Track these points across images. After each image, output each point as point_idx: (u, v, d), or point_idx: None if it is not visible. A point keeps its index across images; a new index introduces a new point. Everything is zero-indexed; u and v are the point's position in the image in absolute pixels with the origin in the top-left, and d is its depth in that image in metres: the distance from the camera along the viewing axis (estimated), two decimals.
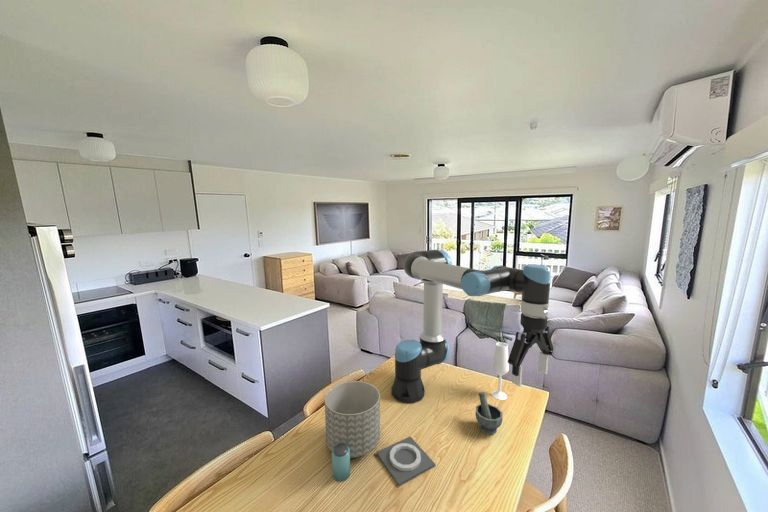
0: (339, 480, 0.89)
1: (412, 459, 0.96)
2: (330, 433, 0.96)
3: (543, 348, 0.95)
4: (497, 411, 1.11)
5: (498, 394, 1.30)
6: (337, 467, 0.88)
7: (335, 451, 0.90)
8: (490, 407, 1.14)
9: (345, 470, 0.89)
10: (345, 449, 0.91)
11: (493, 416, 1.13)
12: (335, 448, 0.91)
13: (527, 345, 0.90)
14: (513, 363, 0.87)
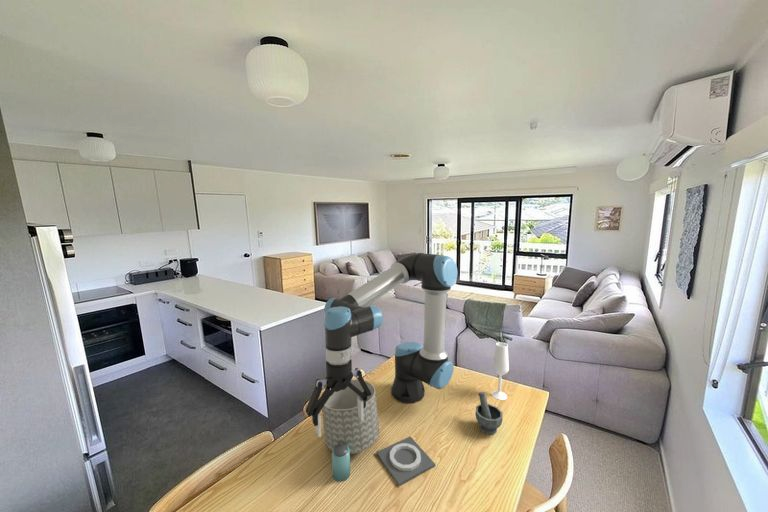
0: (339, 480, 0.89)
1: (412, 459, 0.96)
2: (328, 431, 0.97)
3: (357, 393, 0.91)
4: (497, 411, 1.11)
5: (498, 394, 1.30)
6: (337, 467, 0.88)
7: (335, 451, 0.90)
8: (490, 407, 1.14)
9: (345, 470, 0.89)
10: (345, 449, 0.91)
11: (493, 416, 1.13)
12: (335, 448, 0.91)
13: (327, 393, 0.85)
14: (307, 413, 0.83)
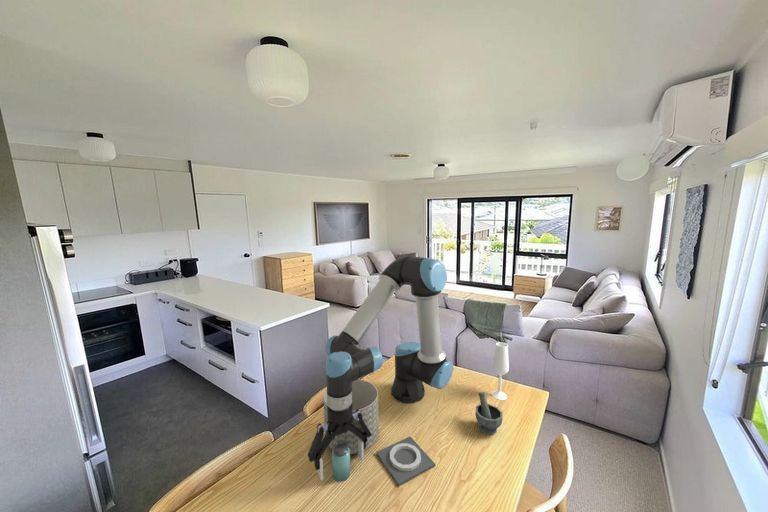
0: (339, 480, 0.89)
1: (412, 459, 0.96)
2: None
3: (357, 435, 0.93)
4: (497, 411, 1.11)
5: (498, 394, 1.30)
6: (337, 467, 0.89)
7: (335, 451, 0.90)
8: (490, 407, 1.14)
9: (345, 470, 0.89)
10: (345, 449, 0.91)
11: (493, 416, 1.13)
12: (335, 448, 0.91)
13: (329, 437, 0.87)
14: (309, 458, 0.85)
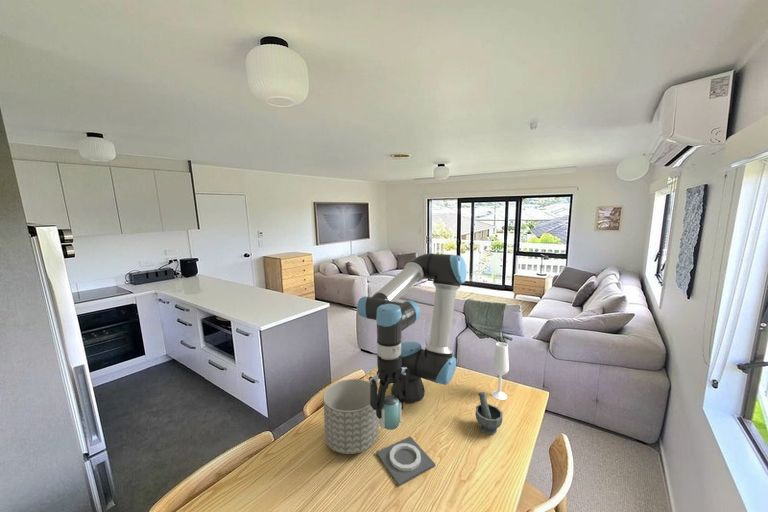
0: (390, 428, 0.91)
1: (412, 459, 0.96)
2: (328, 429, 0.98)
3: (397, 392, 0.93)
4: (497, 411, 1.11)
5: (498, 394, 1.30)
6: (387, 416, 0.91)
7: (385, 400, 0.92)
8: (490, 407, 1.14)
9: (395, 418, 0.91)
10: (394, 399, 0.93)
11: (493, 416, 1.13)
12: (384, 398, 0.93)
13: (383, 387, 0.90)
14: (373, 407, 0.89)
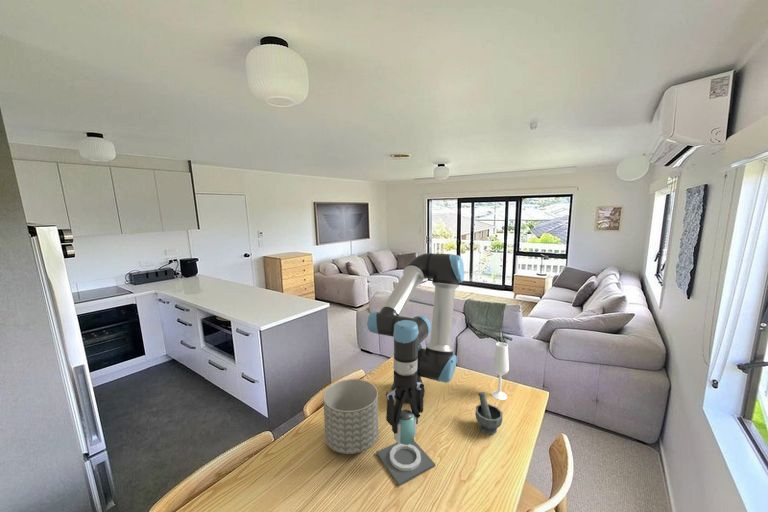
0: (405, 443, 0.93)
1: (412, 459, 0.96)
2: (328, 429, 0.98)
3: (412, 407, 0.95)
4: (497, 411, 1.11)
5: (498, 394, 1.30)
6: (403, 431, 0.92)
7: (401, 415, 0.93)
8: (490, 407, 1.14)
9: (411, 433, 0.93)
10: (409, 414, 0.94)
11: (493, 416, 1.13)
12: None
13: (399, 403, 0.92)
14: (389, 422, 0.91)
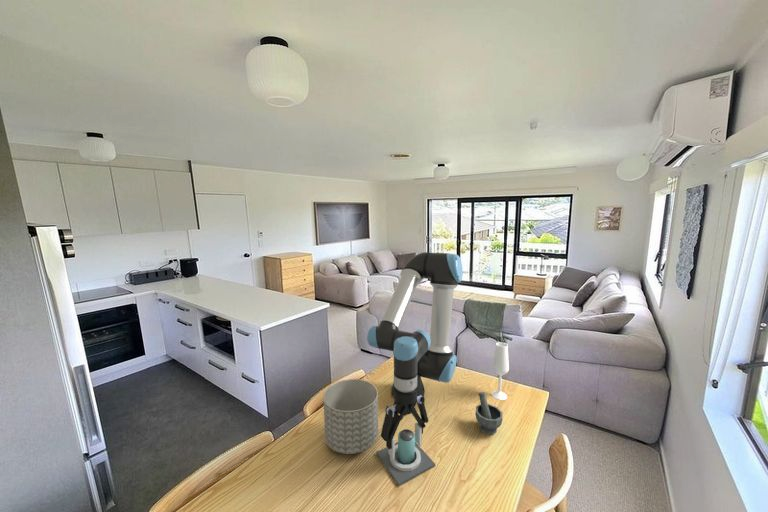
0: (406, 463, 0.94)
1: None
2: (328, 429, 0.98)
3: (417, 419, 0.97)
4: (497, 411, 1.11)
5: (498, 394, 1.30)
6: (404, 451, 0.93)
7: (402, 436, 0.95)
8: (490, 407, 1.14)
9: (412, 454, 0.94)
10: (410, 434, 0.95)
11: (493, 416, 1.13)
12: (401, 433, 0.96)
13: (397, 418, 0.92)
14: (383, 438, 0.90)
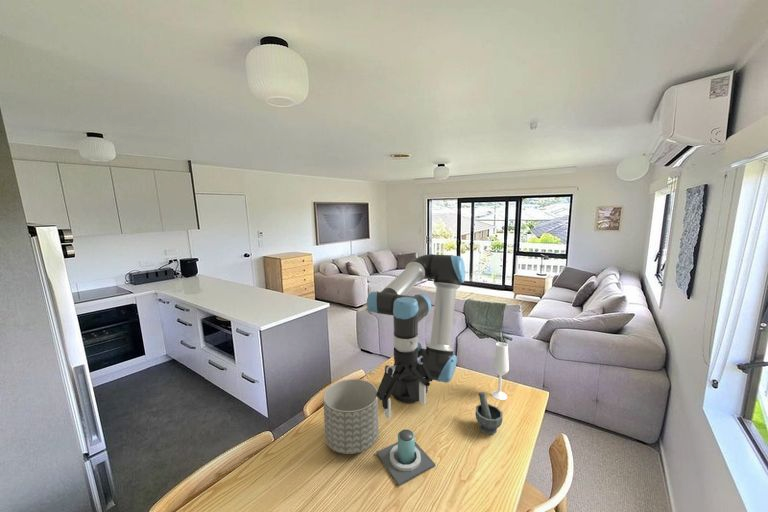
0: (406, 463, 0.94)
1: None
2: (328, 429, 0.98)
3: (420, 379, 0.96)
4: (497, 411, 1.11)
5: (498, 394, 1.30)
6: (404, 451, 0.93)
7: (401, 436, 0.95)
8: (490, 407, 1.14)
9: (411, 454, 0.94)
10: (410, 434, 0.95)
11: (493, 416, 1.13)
12: (401, 433, 0.96)
13: (396, 378, 0.90)
14: (379, 397, 0.88)
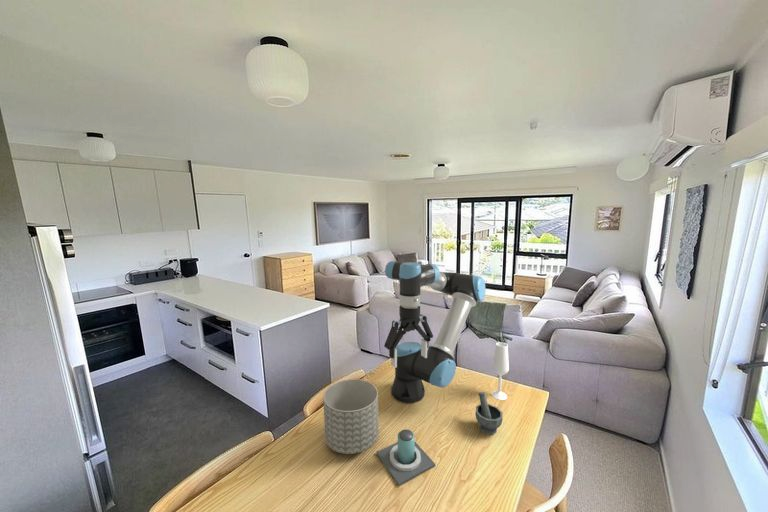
0: (406, 463, 0.94)
1: None
2: (328, 429, 0.98)
3: (422, 335, 1.10)
4: (497, 411, 1.11)
5: (498, 394, 1.30)
6: (404, 451, 0.93)
7: (401, 436, 0.95)
8: (490, 407, 1.14)
9: (411, 454, 0.94)
10: (410, 434, 0.95)
11: (493, 416, 1.13)
12: (401, 433, 0.96)
13: (402, 332, 1.04)
14: (387, 347, 1.02)
